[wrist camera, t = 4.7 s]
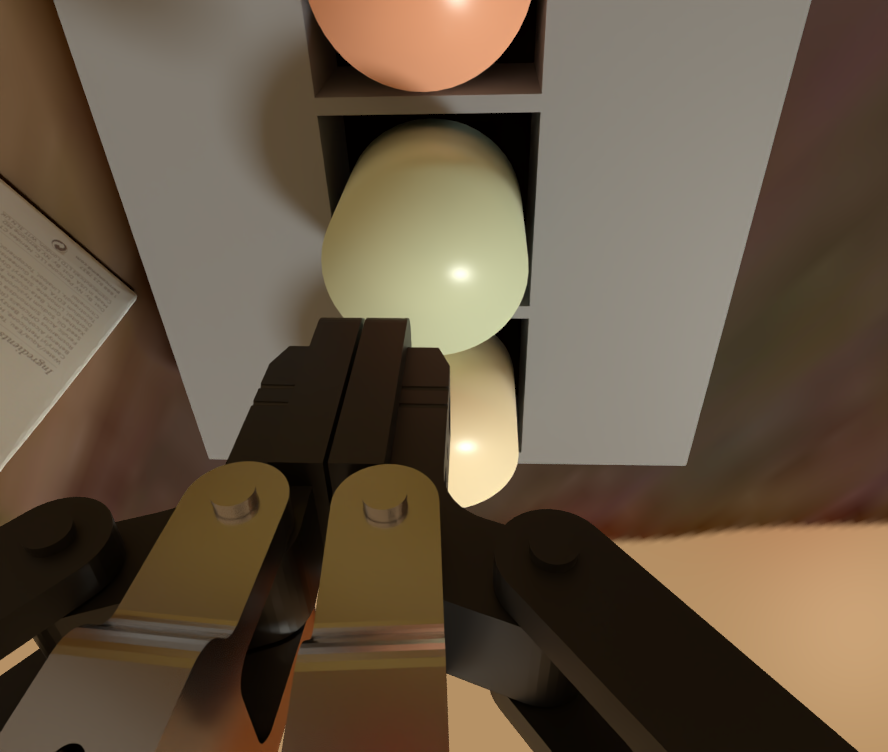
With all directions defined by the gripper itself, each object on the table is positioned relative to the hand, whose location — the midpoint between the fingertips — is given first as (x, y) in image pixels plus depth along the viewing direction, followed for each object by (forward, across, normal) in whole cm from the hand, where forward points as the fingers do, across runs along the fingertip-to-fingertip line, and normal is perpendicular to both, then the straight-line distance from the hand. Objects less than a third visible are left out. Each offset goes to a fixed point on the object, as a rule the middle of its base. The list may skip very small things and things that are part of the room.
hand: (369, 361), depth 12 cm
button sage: (+7, -1, 0) cm, 7 cm away
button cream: (+7, -1, +6) cm, 9 cm away
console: (+10, -1, 0) cm, 10 cm away
